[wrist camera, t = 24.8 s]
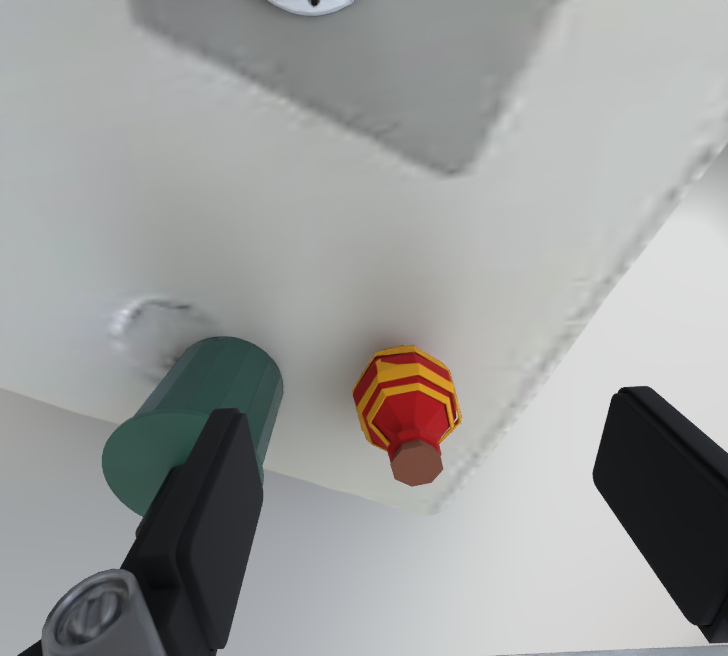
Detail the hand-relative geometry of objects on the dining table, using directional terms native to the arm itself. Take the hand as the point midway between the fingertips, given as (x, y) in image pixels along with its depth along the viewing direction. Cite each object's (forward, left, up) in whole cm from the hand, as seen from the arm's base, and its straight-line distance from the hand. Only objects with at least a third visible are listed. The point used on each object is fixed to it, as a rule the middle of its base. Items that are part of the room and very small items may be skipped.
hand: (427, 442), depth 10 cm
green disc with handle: (+17, -17, -17) cm, 30 cm away
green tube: (+17, -17, -30) cm, 39 cm away
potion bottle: (+16, +2, -31) cm, 34 cm away
